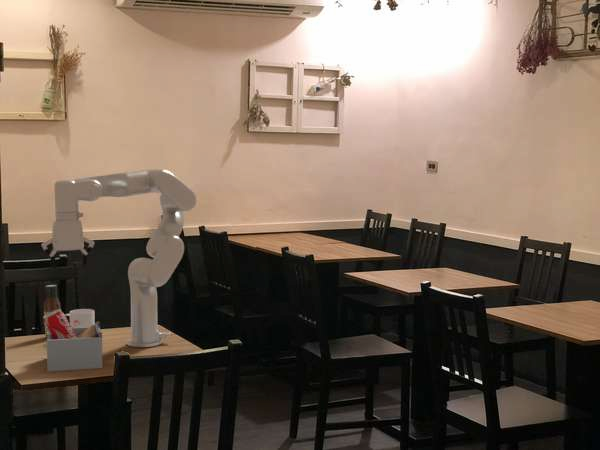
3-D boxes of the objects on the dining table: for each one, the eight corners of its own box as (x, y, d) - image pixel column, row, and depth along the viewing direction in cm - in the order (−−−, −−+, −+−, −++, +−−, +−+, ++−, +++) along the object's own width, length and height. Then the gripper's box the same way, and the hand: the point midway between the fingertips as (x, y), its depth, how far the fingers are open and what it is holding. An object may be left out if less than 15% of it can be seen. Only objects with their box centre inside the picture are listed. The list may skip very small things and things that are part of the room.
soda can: (70, 347, 257) (53, 315, 255) (54, 352, 260) (36, 320, 258) (82, 337, 264) (65, 305, 261) (66, 342, 267) (49, 311, 264)
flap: (95, 326, 272) (93, 323, 272) (97, 335, 258) (95, 332, 257) (61, 347, 269) (59, 344, 269) (61, 358, 255) (59, 355, 255)
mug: (98, 338, 299) (98, 309, 299) (88, 344, 291) (88, 314, 290) (69, 337, 302) (68, 308, 301) (57, 342, 293) (57, 312, 292)
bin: (99, 354, 275) (99, 321, 274) (102, 367, 257) (102, 332, 257) (48, 358, 270) (47, 324, 269) (47, 371, 253) (46, 335, 252)
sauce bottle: (63, 335, 305) (62, 283, 303) (61, 338, 299) (60, 286, 297) (45, 335, 304) (44, 284, 302) (43, 339, 298) (42, 286, 296)
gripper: (92, 215, 274) (94, 264, 276) (39, 217, 269) (42, 267, 270) (94, 216, 267) (96, 267, 269) (40, 218, 262) (42, 270, 263)
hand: (69, 267), depth 270 cm, fingers open, 9 cm apart
